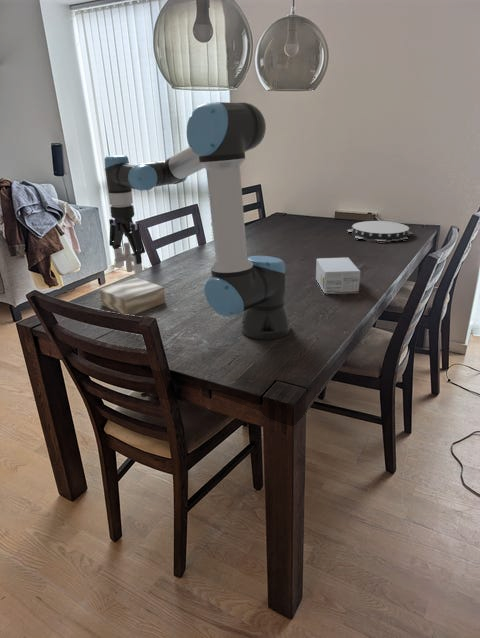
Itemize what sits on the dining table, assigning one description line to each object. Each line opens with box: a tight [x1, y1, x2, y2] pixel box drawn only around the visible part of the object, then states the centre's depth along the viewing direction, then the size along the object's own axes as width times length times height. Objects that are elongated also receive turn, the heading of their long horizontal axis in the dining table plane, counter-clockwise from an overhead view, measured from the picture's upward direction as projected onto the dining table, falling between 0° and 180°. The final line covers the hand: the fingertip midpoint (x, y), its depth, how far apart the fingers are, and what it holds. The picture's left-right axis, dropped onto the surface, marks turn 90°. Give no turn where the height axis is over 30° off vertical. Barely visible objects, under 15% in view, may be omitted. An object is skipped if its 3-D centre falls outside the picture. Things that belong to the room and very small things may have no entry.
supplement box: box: [315, 257, 361, 293], centre depth 179 cm, size 17×13×9 cm
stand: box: [99, 277, 166, 316], centre depth 168 cm, size 16×16×6 cm
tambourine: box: [346, 220, 413, 241], centre depth 251 cm, size 34×33×5 cm
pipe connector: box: [114, 242, 134, 273], centre depth 162 cm, size 10×10×10 cm
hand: (129, 269), depth 164 cm, fingers closed on pipe connector, 10 cm apart
